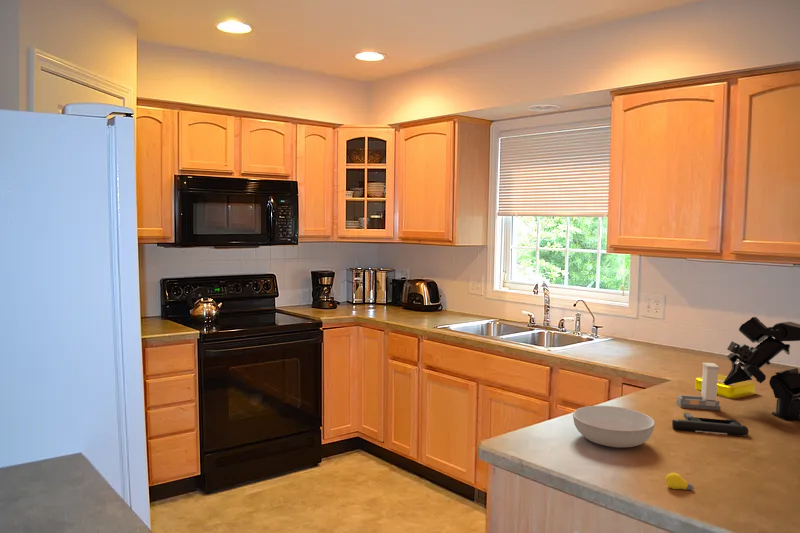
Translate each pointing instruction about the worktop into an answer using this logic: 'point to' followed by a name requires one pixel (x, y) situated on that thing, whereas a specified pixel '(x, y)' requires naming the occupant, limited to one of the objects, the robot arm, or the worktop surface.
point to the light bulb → (677, 482)
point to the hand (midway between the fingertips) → (724, 384)
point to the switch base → (697, 402)
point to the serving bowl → (613, 425)
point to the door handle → (710, 425)
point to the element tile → (730, 387)
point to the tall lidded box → (709, 381)
